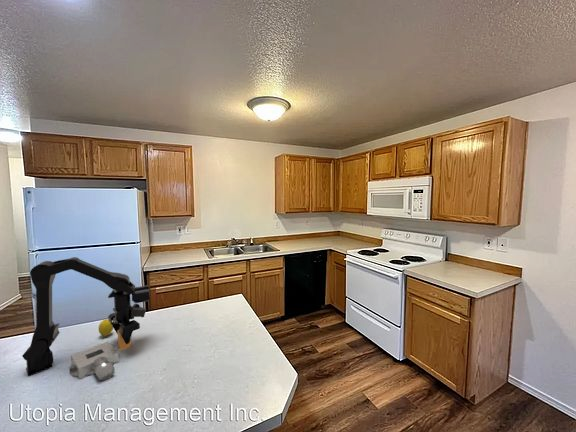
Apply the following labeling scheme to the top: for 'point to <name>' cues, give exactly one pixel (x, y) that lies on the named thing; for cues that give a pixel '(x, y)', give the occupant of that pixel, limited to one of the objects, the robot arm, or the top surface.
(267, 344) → the top surface
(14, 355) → the top surface
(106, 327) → the lemon
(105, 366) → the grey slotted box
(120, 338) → the orange block
